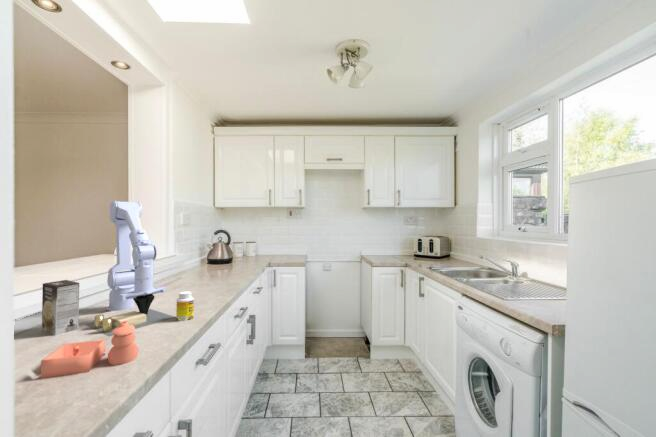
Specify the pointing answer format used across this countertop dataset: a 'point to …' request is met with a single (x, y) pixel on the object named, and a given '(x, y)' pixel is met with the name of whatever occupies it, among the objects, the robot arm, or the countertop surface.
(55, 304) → the coffee box
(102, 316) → the bench dogs
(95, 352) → the pottery
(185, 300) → the supplement bottle
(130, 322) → the cream beveled panel
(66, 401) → the countertop surface
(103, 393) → the countertop surface
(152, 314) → the board
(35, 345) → the countertop surface
